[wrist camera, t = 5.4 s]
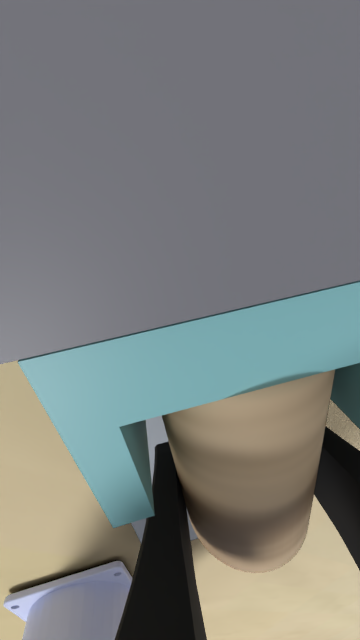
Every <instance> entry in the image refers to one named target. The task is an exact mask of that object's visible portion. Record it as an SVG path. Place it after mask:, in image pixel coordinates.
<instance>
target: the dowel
mask: <svg viewBox="0 0 360 640" xmlns="http://www.w3.org/2000/svg"><path fill="white" fill-rule="evenodd" d="M334 374H335V369H334V370H331V371H327V372H323V373H319V374H316V375H312V376H308V377H304V378H301V379H297V380H293V381H289V382H285V383H282V384H278V385H274V386H270V387H267V388H263V389H259V390H255V391H252V392H248V393H244V394H240V395H237V396H233V397H229V398H225V399H222V400H218V401H214V402H210V403H207V404H203V405H199V406H195V407H192V408H188V409H184V410H180V411H177V412H173V413H169V414H165V415H162V419H163V423H164V426H165V430H166V434H167V437H168V441H169V445H170V448H171V452H172V456H173V459H174V463H175V467H176V470H177V474H178V478H179V482H180V485H181V489H182V493H183V496H184V500H185V504H186V507H187V511H188V515H189V518H190V522H191V524H192V527H193V529H194V531H195V533H196V535H197V537H198V538H199V540H200V541H201V543H202V544H203V546H204V547H205V548H206V549H207V550H208V551H209V552H210V553H211V554H212V555H213V556H214V557H215V558H217V559H218V560H219V561H221V562H223V563H224V564H226V565H228V566H230V567H232V568H234V569H237V570H240V571H244V572H251V573H263V572H268V571H273V570H275V569H277V568H280V567H282V566H283V565H285V564H286V563H288V562H289V561H290V560H291V559H292V558H293V557H294V556H295V555H296V554H297V553H298V551H299V550H300V548H301V547H302V544H303V542H304V540H305V537H306V534H307V530H308V525H309V519H310V513H311V507H312V501H313V496H314V490H315V484H316V478H317V472H318V467H319V461H320V455H321V449H322V443H323V438H324V432H325V426H326V420H327V414H328V409H329V403H330V397H331V391H332V385H333V380H334Z"/></svg>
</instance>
